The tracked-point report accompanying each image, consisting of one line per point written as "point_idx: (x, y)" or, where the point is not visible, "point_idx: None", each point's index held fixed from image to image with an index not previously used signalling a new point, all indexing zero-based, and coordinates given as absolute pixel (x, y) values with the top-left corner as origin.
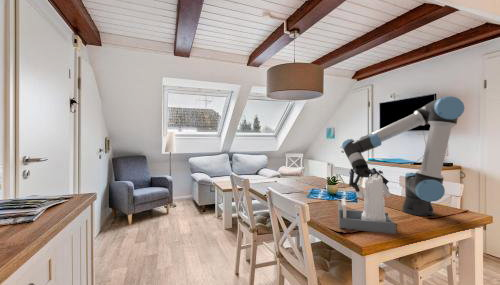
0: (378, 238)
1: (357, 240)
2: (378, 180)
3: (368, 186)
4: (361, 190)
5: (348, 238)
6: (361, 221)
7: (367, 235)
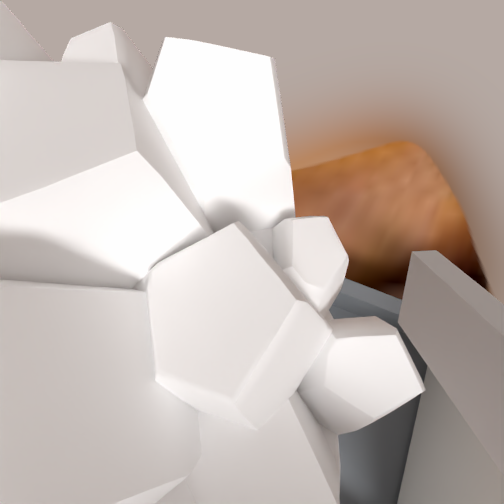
0: (306, 198)
1: (417, 187)
2: (29, 42)
3: (334, 322)
4: (485, 304)
5: (454, 210)
6: (363, 288)
7: (343, 234)
